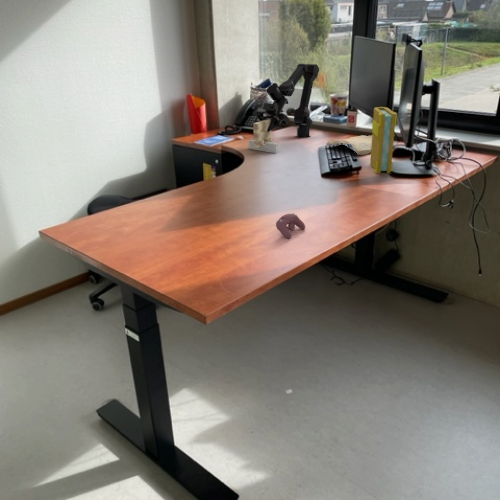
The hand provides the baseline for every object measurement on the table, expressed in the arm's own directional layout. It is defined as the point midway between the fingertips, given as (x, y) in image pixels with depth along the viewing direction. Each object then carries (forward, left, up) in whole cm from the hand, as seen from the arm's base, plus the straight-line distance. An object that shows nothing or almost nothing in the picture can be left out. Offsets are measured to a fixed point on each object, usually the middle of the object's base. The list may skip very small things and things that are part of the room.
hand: (265, 131), depth 247 cm
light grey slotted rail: (+2, +2, -9) cm, 10 cm away
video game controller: (+7, +108, -10) cm, 108 cm away
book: (-45, +46, -10) cm, 65 cm away
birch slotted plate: (+2, +2, -7) cm, 7 cm away
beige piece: (-45, +11, -10) cm, 47 cm away
